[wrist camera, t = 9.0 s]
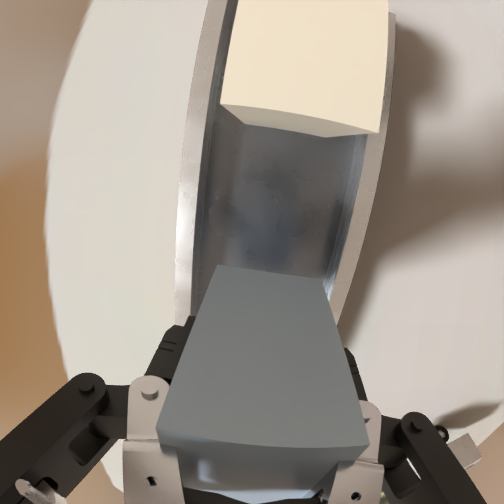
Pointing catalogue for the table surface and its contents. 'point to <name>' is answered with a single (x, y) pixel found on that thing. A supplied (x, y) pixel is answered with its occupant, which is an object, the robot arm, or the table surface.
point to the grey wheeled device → (459, 449)
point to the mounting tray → (268, 186)
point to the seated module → (308, 65)
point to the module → (262, 390)
